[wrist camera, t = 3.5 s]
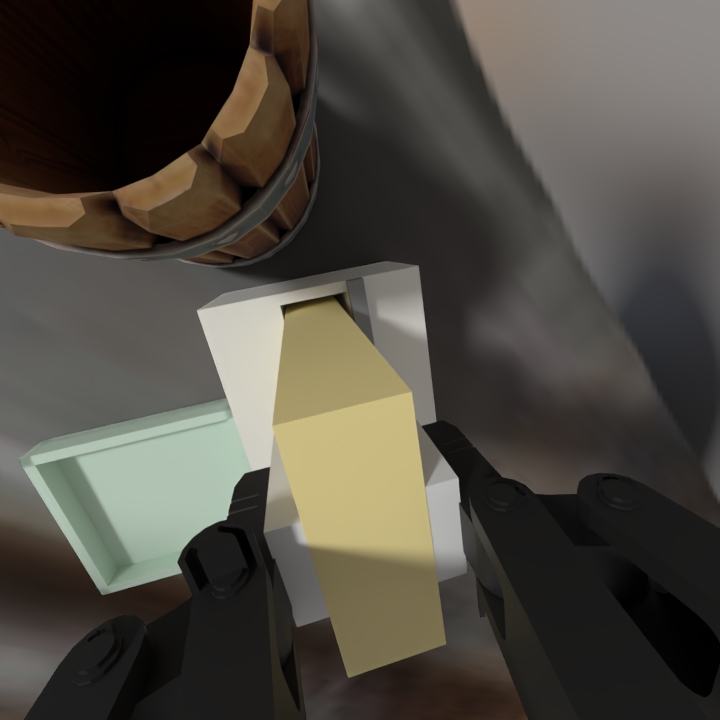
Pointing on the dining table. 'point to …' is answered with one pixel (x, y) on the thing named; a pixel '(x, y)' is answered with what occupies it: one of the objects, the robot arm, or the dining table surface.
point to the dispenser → (265, 331)
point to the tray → (140, 489)
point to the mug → (159, 126)
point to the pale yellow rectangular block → (357, 486)
